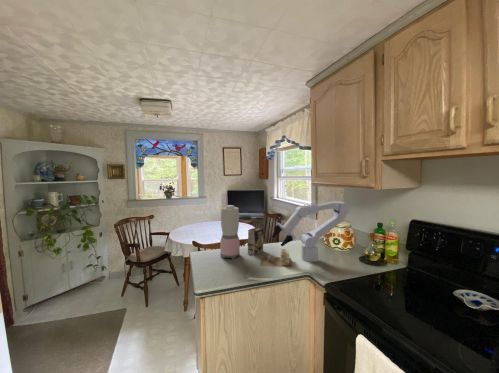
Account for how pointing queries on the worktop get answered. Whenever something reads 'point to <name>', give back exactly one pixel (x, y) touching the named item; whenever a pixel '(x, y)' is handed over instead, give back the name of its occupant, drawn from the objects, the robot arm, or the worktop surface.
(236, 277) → the worktop surface
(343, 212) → the robot arm
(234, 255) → the blender
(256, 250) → the coffee box
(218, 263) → the worktop surface
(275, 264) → the base
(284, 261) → the block
